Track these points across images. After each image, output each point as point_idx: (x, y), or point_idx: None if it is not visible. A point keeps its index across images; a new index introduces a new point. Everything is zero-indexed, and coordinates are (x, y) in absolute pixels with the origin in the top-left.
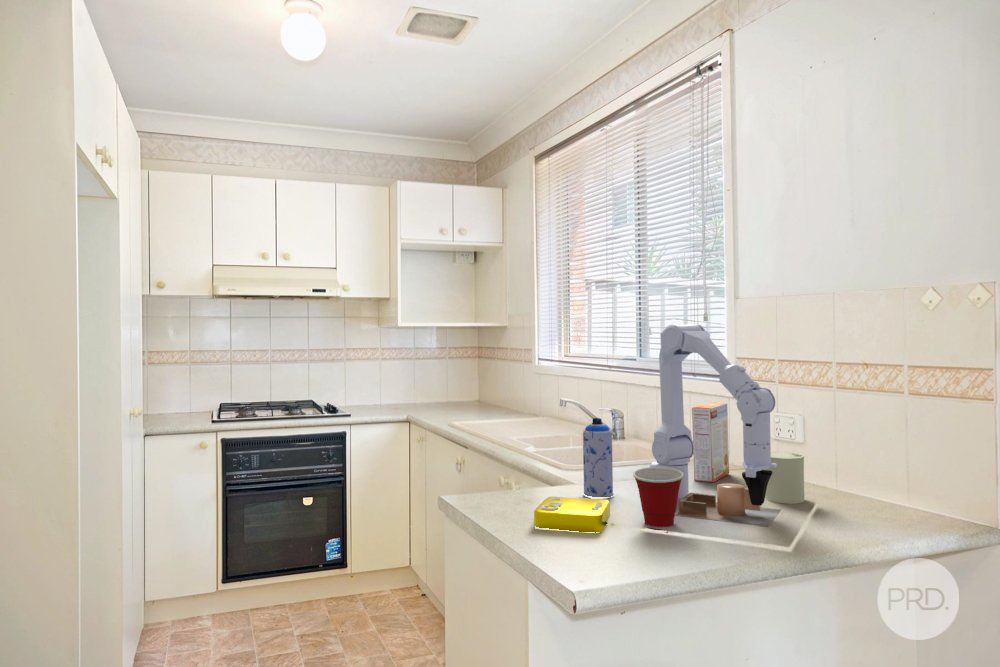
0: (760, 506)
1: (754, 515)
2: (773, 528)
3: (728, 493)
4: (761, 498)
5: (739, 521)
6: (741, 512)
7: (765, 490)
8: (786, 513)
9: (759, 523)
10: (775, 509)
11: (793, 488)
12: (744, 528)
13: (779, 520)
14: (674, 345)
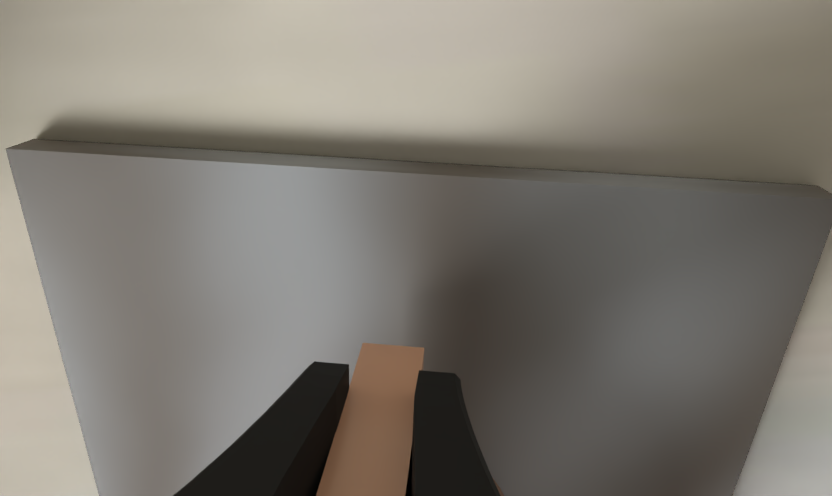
0: (364, 367)
1: None
2: (710, 143)
3: None
4: (476, 441)
5: (686, 448)
6: None
7: (286, 478)
8: (12, 84)
9: (716, 291)
10: (47, 203)
11: None
12: (776, 381)
13: (345, 121)
14: None
